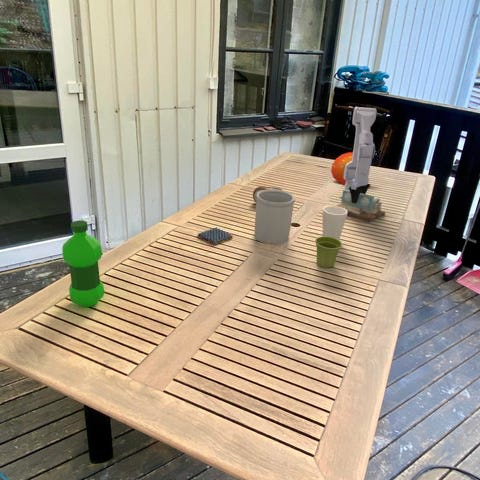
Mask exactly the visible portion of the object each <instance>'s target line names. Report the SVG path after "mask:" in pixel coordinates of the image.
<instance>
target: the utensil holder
mask: <svg viewBox="0 0 480 480" xmlns="http://www.w3.org/2000/svg"><path fill="white" fill-rule="evenodd" d="M282 190H283V189H282ZM282 190H275V189H267V190H262V191H259V192H258V193H257V195H256V199H257V202H255V203H256V205H255V216H254V217H255V218H254V238H255V239H256V240H257V241H259V242H261V243H263V244H267V245H281V244H284V243H286V242H288V241H289V238H290V232H291V226H292V225H291V224H292V220H293V219H292V218H293V211H294V205H295V201H296V196H295V195H294V194H293V193H292V192H288V191H286V190H283V191H282Z"/></svg>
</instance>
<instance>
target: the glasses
mask: <svg viewBox="0 0 480 480" xmlns="http://www.w3.org/2000/svg"><path fill="white" fill-rule="evenodd" d="M341 196H342V198H341V203H340V204H342V203H345V204H348V205H352V206H355V207H359V208H362V209H366V210H369V211H370V210H372V207H373V205H374V204H375V203H377V202H378V201H380V200H381V198H379V197H377V198H376V199H375V196H373V195H370V194H367V193H366V194H363V193H360V195H359V198H358V201H357V203H356V204H355V203H352V202H351V193H350V190H347V189H345V188H344V189H343V190H342V195H341ZM380 202H381V201H380Z"/></svg>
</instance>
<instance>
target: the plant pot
mask: <svg viewBox="0 0 480 480" xmlns="http://www.w3.org/2000/svg"><path fill="white" fill-rule="evenodd" d="M314 242H315V247H316V264H317V265H318V266H319V267H321V268H324V269H329V268H333V266H334V265H335V263H336V259H337V257H338V254H339V251H340V249H341V248H342V247H343V243H342V241H341V240H340V239H339V240H338V239H336V238H333V237H326V236H324V237H323V236H319V237H316V238H315V241H314Z"/></svg>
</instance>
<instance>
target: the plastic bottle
mask: <svg viewBox="0 0 480 480" xmlns="http://www.w3.org/2000/svg"><path fill="white" fill-rule="evenodd" d="M70 227H71V232H72V233H73V235H72V236H71V237H70V238H68V240H66V241H65V242H64V243H63V245H62V248H61V250H62V259H63V262H64V263H66V265H68V268H69V274H70V281H71V283H70V285H69V288H68V290H69V292H68V293H69V298H70V300H71V302H73V303H74V304H76V305H78V306H80V307H83V308H90V307H94V306H95V305H96V304H98V303H99V301H100V300H101V299H102V298H104V296H105V287H104V283H103V281H101V279H100V270H99V269H100V268H99V261H100V259H102V256H103V252H102V251H103V250H102V246H101V243H100V241H99V239H97V238H95V237H93V236H92V235H89V234H88V233H87V231H88V230H89V229H88V228H89V227H88V221H85V220H74V221H72V222H71V223H70Z"/></svg>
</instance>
